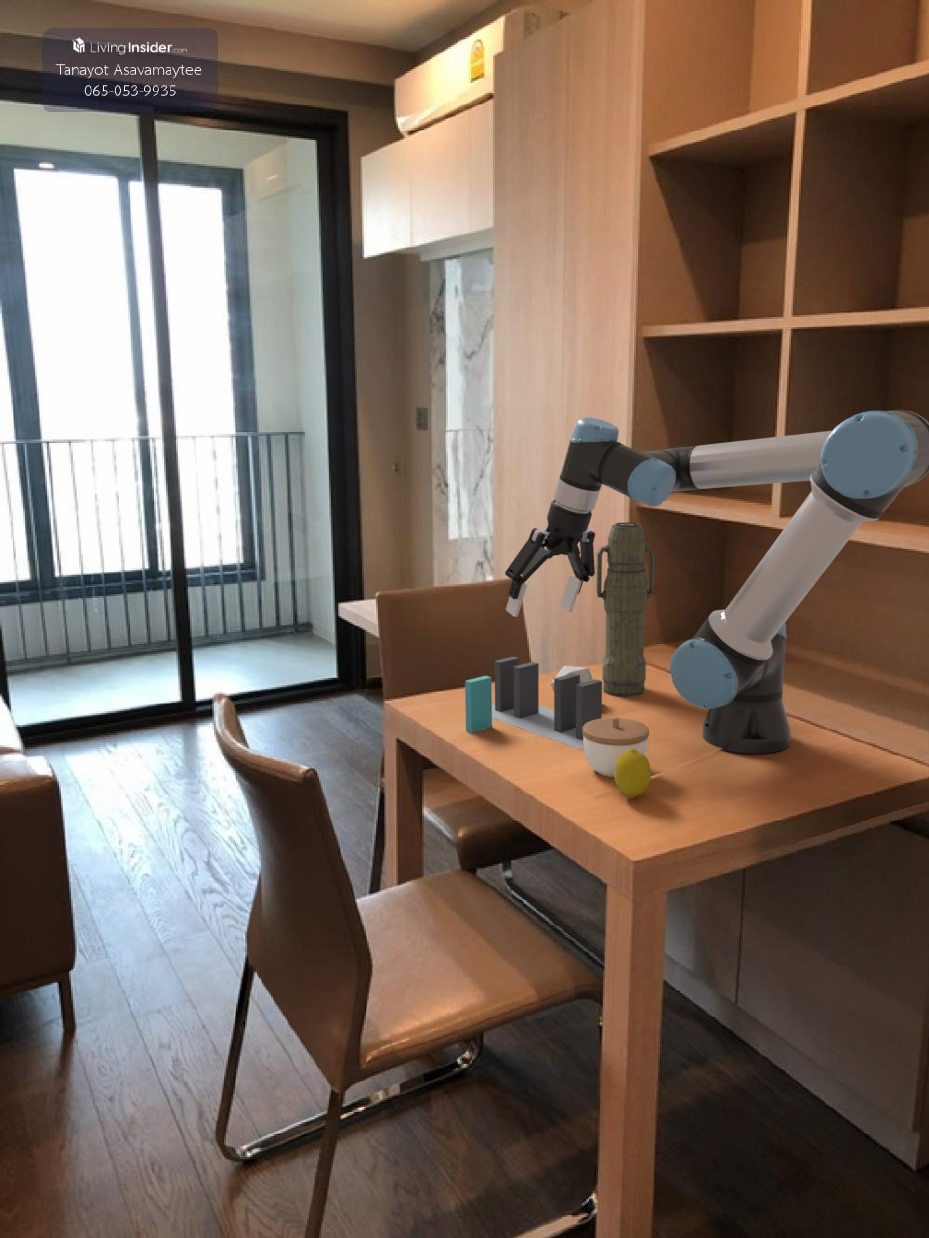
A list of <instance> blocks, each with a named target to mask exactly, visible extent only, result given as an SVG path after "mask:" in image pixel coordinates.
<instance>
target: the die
mask: <svg viewBox="0 0 929 1238" xmlns="http://www.w3.org/2000/svg"><path fill="white" fill-rule="evenodd" d="M573 673H575V674H578V675H580V683H584V682H588V681H591V680H594V678H593V677H592V674H591V672H590V668H589V667H584V666H583V667H582V666H572V665H563V666H562V667H561V669H560V670H559V671H558V673H557V675H556V676H555V677H554V678H558V677H561V676H565V675H569V674H573ZM550 686H551V689H552V692H554V679H553V680H552V681H551V682H550Z"/></svg>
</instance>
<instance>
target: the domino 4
mask: <svg viewBox="0 0 929 1238" xmlns="http://www.w3.org/2000/svg"><path fill="white" fill-rule="evenodd" d="M602 700H603V680H600V679H593V680H591V681H588V682H584V683H580V684H577V685H576V738H577V739H580V740H583V726H584V725H585V724H586V723H587V722H589V721H592V720H596V719H602V718H603V717H602V713H603V711H602V710H603V709H602V708H603V706H602V705H603V701H602Z"/></svg>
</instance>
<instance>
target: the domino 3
mask: <svg viewBox="0 0 929 1238" xmlns="http://www.w3.org/2000/svg"><path fill="white" fill-rule="evenodd" d="M553 680H554V691H553V694H554V697H553V698H554V699H553V702H554V703H553V704H554V705H553V706H554V707H553V710H554V731H557V732H560V733H561V732H564V731H568V730H571V729H574V728H576V685H577V684H580V675H578V674H575V673H573V674H569V675H565V676H561V677H558V678H555V677H554V679H553Z"/></svg>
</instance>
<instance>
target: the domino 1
mask: <svg viewBox="0 0 929 1238" xmlns="http://www.w3.org/2000/svg"><path fill="white" fill-rule="evenodd" d="M518 665H520V657H517V656H516V657H515V656H509V657H505V658H501V659H498V660H497V659H496V660H494V704H495V710H496V711H499V712H503V711H506V710H510V709H513V708H514V666H518Z"/></svg>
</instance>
